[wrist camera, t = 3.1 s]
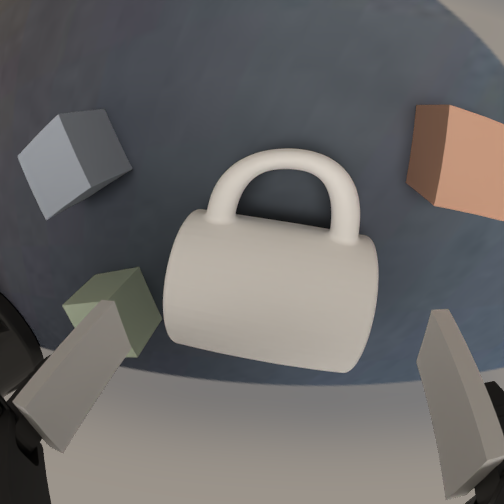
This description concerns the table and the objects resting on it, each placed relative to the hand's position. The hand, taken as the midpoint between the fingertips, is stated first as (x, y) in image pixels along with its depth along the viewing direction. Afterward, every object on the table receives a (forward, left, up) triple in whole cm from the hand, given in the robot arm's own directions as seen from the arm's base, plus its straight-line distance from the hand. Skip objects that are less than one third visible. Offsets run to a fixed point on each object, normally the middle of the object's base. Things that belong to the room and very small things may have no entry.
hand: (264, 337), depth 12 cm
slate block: (-13, +7, -10) cm, 18 cm away
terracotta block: (+11, +6, -10) cm, 16 cm away
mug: (0, +1, -10) cm, 10 cm away
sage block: (-13, -5, -10) cm, 17 cm away
